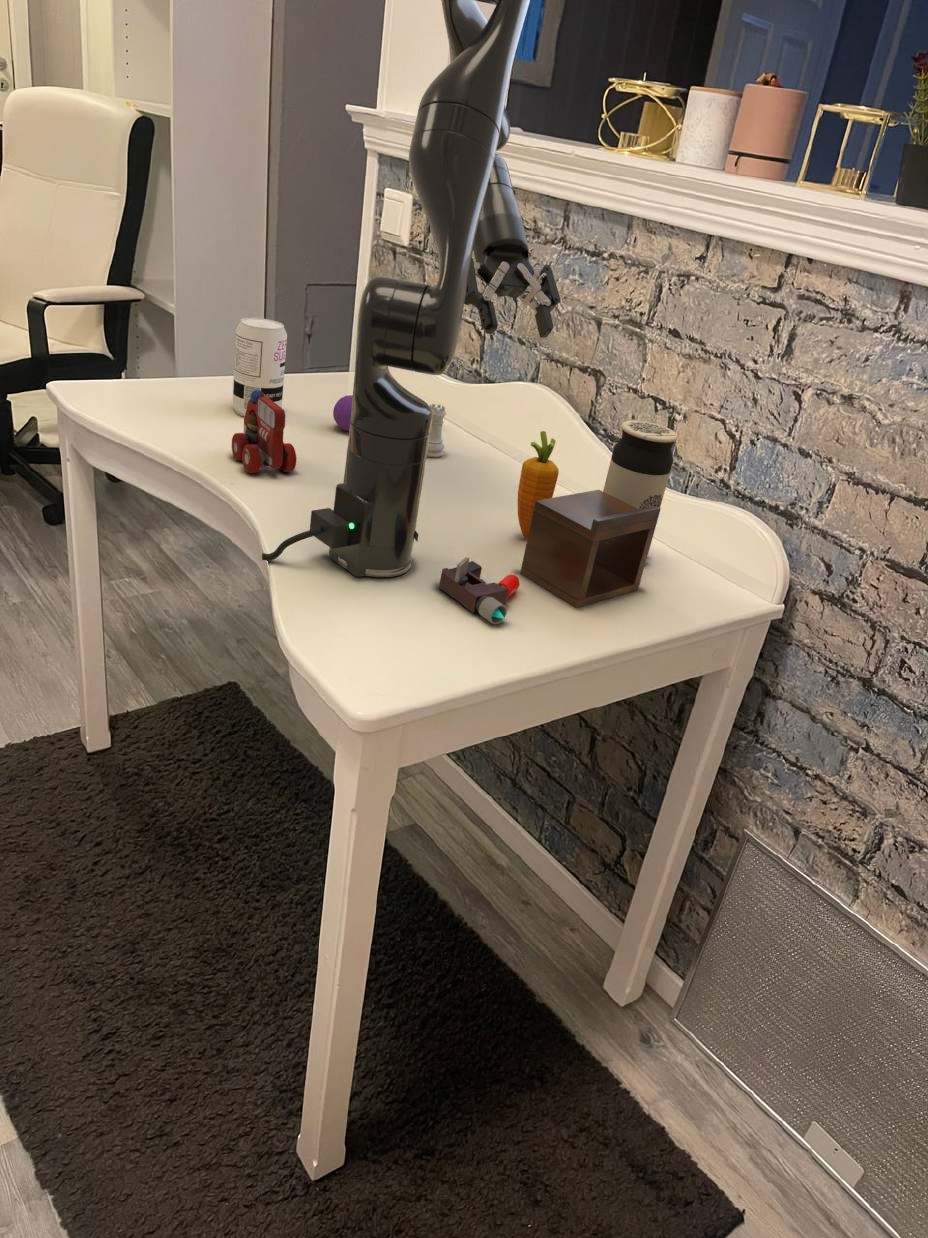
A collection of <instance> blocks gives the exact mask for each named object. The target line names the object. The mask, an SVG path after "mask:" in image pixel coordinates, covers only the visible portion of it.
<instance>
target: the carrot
mask: <svg viewBox="0 0 928 1238" xmlns="http://www.w3.org/2000/svg"><path fill="white" fill-rule="evenodd" d="M539 432H540V434H539V435H540V441H541V445H540V444H538V443H537V442H536V441H531V442H530V446H531V447H532V448H533V449H534V450H535V451H536V453H537V456H538V457H537V456H534V457H530V458H528V459H526V460H524V461H523V463H522V466H521V470H520V476H519V483H518V489H517V490H518V491H517V519H518V524H519V527H520V531H521V534H522V536H523V538H524V539H528V534H529V529H530V525H531V520H532V515H533V511H534V506H535V501H537V500H543V499H549V498H553V496H554V493H555V490H556V485H557V482H558V477H559V472H560V471H559V468H558V466H557V465H556V463H555V462H554V461H552V460H551V459H550V457H551V456H552V455H551V454H552V453H553V451H554V449H555V446H556V441H557V440H555V438H553V437H550V442H548V435H547V431H545V430H541V431H539ZM548 443H549V444H548Z"/></svg>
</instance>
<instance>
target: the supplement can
mask: <svg viewBox="0 0 928 1238" xmlns="http://www.w3.org/2000/svg"><path fill="white" fill-rule="evenodd" d="M234 342H235V343H234V361H233V363H234V364H233V379H232V380H233V381H232V382H233V383H232V404H231V408H232V409H233V410H234V411H235V413H236V414H238V415H240V416H242V417H245V413H246V409H247V405H248V401H249V400H250V396H251V393H252V392H253V391H255V390H260V391H262V392H263V393H264V396H265V397H268V398H269V399H271V400H272V401H273V402H275V403H276V404H277V405H278V406H280V407H281V408H282V409H283V399H284V397H283V396H284V384H285V383H284V382H285V368H286V356H287V345H288V344H287V343H288V333H287V331H286V328H285V324H283V323H282V322H280V321H277V320H273V319H269V318H268V319H267V318H262V317H261V318H260V317H244V318H240V322H239V324H238V325H237V327H236V329H235V340H234Z"/></svg>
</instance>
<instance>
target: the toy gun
mask: <svg viewBox="0 0 928 1238" xmlns="http://www.w3.org/2000/svg"><path fill="white" fill-rule="evenodd" d="M482 570H483V567H482V566H481V565H480V564H478V563H477V562H475V560H470V557H465V558H463V559H462V560H461V561H460V562H459V563H457V565H456V567H451V568H448V567H443V568H442V569H441V574H440V579H439V586H438V589H440V590H441V591H442V592H444V593H446V594H447V595H448V596H450V597H451V598H453V599H454V600H455V601H457V602H459V603H460V604H461V605H462V606H463V607H464V608H466V609H467V610H469V611H470V612H471V613H478V614H479V615H480V617H482V618H483V619H485V620H487V621H488V622H489V623H491V624H493V625H499V624H500V623H501V622H503V621H504V620H506V619H505V618H506V617H507V613H508V607H507V606H506V603H507V599H508V598H509V597H510V596H511V595H512V594H513V593H515V591H517V590H518V589H519V587H520V585H521V583H520V579H519V577H518V576H517V575H515V574H511V573H510V574H507V575H505V576H504V577H502V578H501V580H499V581H498V582H497V583H496V582H489V583H486V581H485V580H483V579H481V576H482Z"/></svg>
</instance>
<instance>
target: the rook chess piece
mask: <svg viewBox="0 0 928 1238" xmlns="http://www.w3.org/2000/svg"><path fill="white" fill-rule="evenodd" d="M429 406H430V408H431V410H432V424H431V431H430V438H429V444H428V451H427V457H428V458H433V459H434V458H436V459H437V458H441V457H442V456H443V455H444V453H445V452H444V449H445V444H444V441H443V437H442V435H443V434H442V432H443V431H442V430H443V425H444V423H445V422H444V418H445V416H446V415H447V412H446V407H445V406H444V405H441V404H437V406H436V403H432V404H429ZM427 457H426V458H427Z"/></svg>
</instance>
